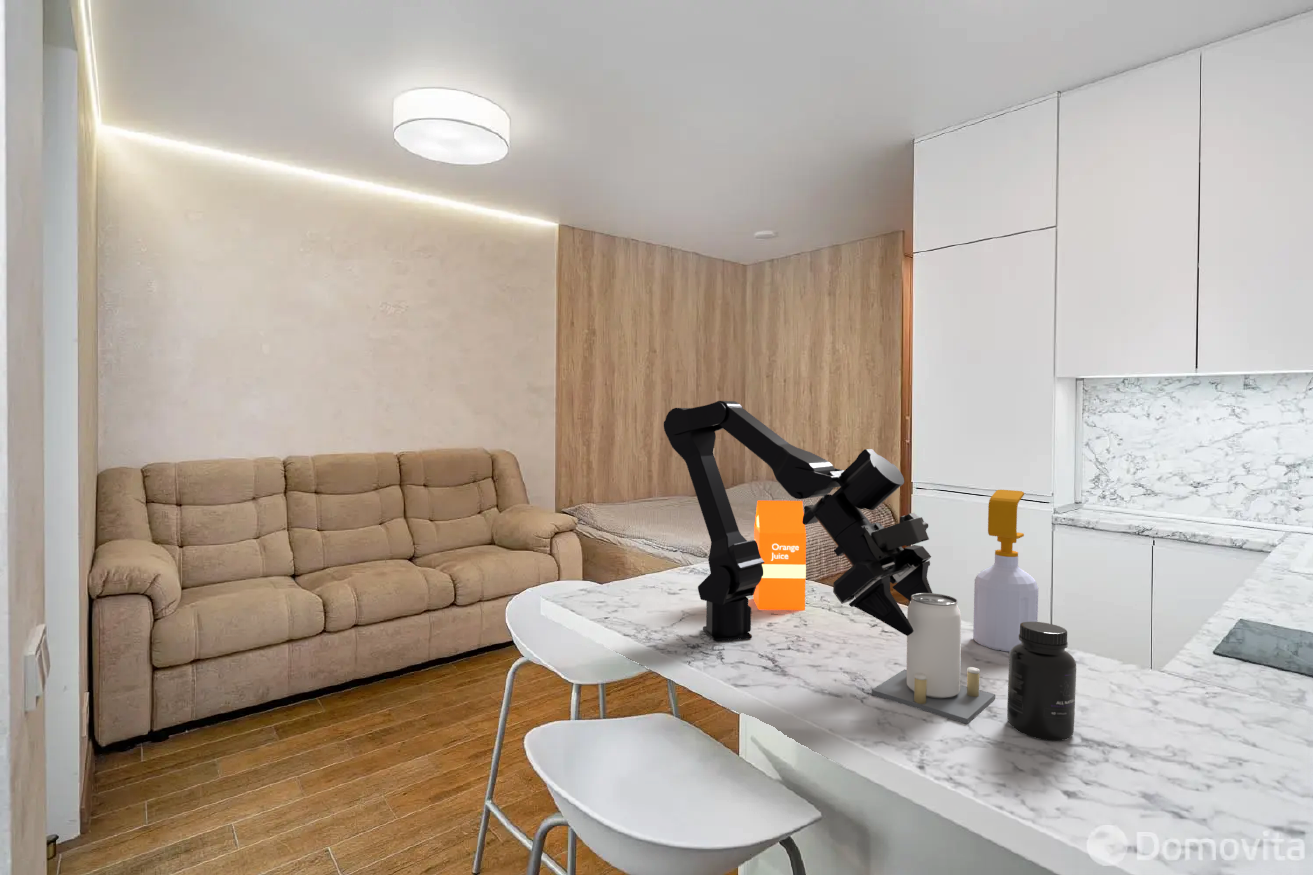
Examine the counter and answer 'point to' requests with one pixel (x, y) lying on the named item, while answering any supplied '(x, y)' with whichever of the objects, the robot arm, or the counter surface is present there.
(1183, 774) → the counter surface
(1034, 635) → the supplement bottle
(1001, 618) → the soap bottle
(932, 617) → the can
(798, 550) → the orange juice
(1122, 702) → the counter surface
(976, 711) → the peg board
